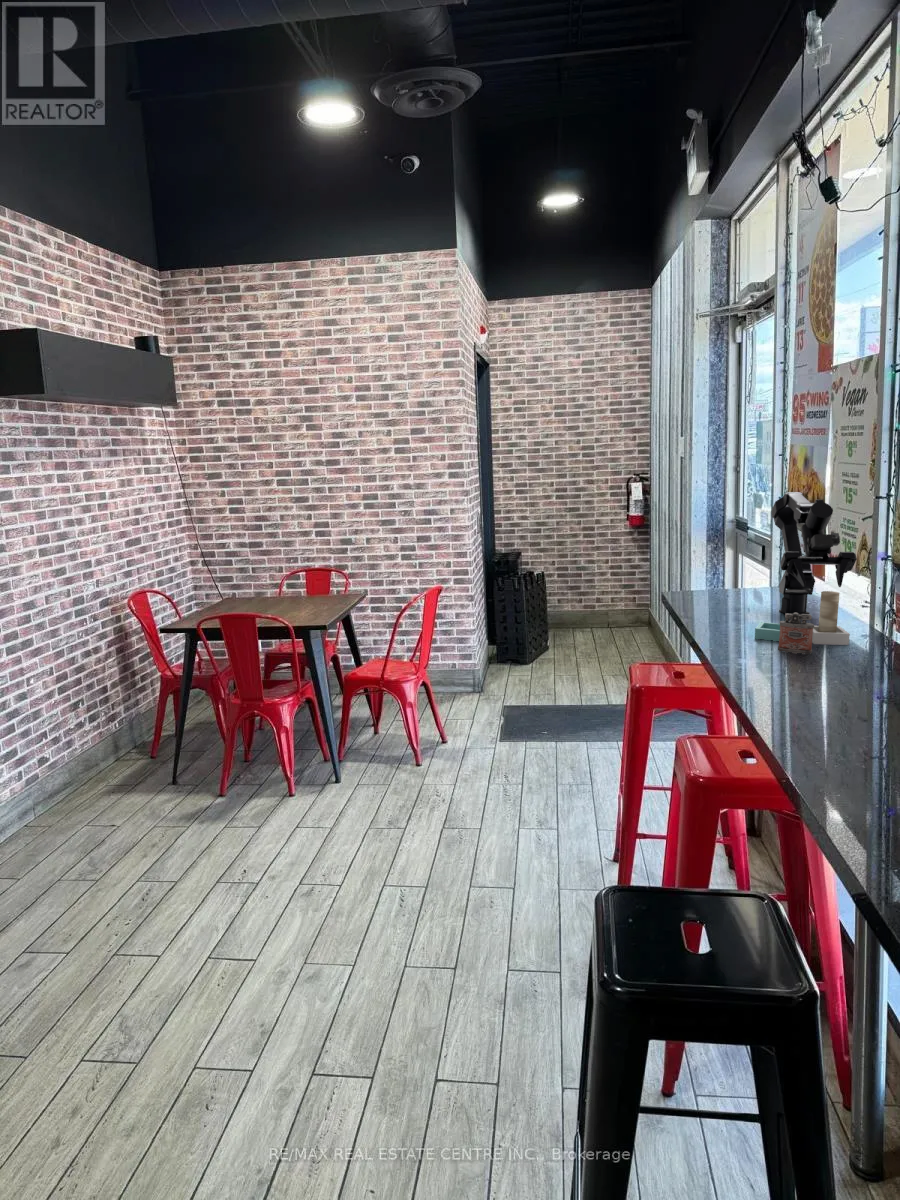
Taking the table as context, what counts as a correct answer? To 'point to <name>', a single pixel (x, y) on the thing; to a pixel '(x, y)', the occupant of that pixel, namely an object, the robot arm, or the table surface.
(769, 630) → the teal socket
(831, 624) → the peg
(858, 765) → the table surface
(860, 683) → the table surface
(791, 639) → the lighter
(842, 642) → the grey socket
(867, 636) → the table surface
